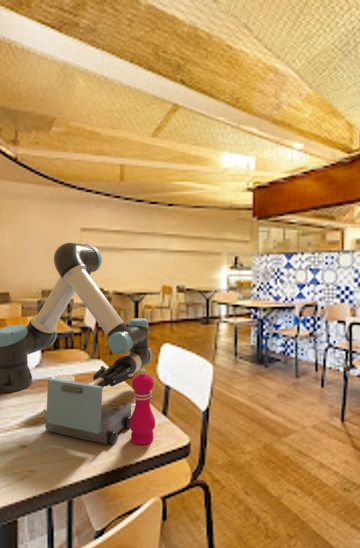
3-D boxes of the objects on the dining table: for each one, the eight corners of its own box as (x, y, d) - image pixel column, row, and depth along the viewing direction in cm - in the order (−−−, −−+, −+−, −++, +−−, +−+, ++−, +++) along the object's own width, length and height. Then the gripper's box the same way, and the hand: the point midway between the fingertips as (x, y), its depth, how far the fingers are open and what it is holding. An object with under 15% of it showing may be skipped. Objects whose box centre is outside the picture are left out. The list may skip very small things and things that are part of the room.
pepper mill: (131, 448, 83) (131, 374, 82) (127, 434, 89) (128, 365, 89) (157, 444, 85) (158, 372, 84) (152, 430, 92) (153, 363, 91)
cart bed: (42, 432, 90) (42, 410, 89) (74, 411, 103) (74, 392, 103) (110, 448, 82) (110, 424, 82) (134, 423, 96) (134, 402, 95)
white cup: (66, 414, 101) (66, 384, 101) (44, 411, 103) (44, 381, 102) (78, 403, 109) (78, 375, 108) (58, 401, 110) (58, 373, 110)
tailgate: (43, 423, 86) (45, 380, 86) (49, 420, 88) (50, 378, 88) (96, 435, 81) (97, 389, 81) (100, 431, 83) (102, 386, 83)
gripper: (143, 377, 112) (108, 405, 89) (111, 373, 116) (70, 399, 93) (143, 357, 111) (108, 380, 89) (111, 353, 116) (70, 374, 93)
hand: (88, 389), depth 91 cm, fingers closed
